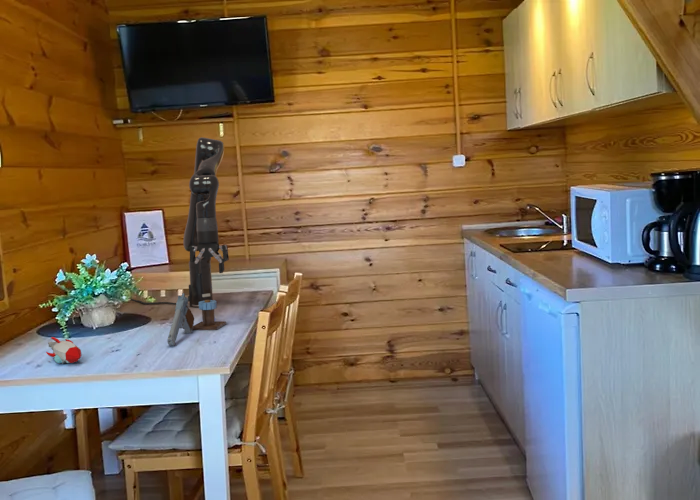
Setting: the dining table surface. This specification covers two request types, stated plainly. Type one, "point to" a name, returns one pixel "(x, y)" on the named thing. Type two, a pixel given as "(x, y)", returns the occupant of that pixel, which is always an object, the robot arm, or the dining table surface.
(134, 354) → the dining table surface
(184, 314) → the handgun
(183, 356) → the dining table surface
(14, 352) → the dining table surface
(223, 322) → the stand
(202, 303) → the ring
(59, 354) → the toy
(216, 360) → the dining table surface
